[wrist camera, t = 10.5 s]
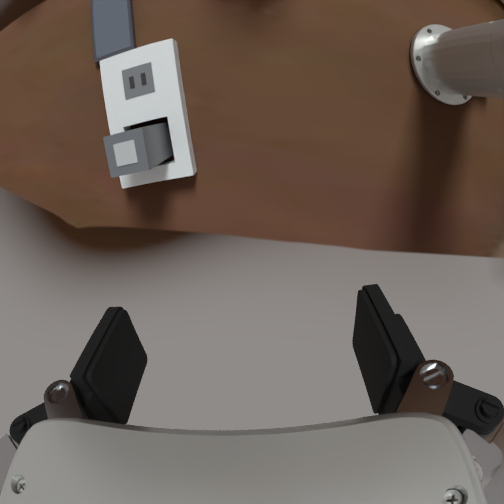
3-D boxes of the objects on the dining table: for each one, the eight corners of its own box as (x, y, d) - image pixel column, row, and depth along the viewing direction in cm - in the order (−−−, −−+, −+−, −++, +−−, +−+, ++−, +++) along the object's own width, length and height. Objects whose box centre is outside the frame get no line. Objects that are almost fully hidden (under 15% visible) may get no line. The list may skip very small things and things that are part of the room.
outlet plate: (176, 42, 30) (171, 38, 28) (196, 171, 38) (193, 175, 36) (107, 62, 31) (98, 61, 28) (128, 184, 39) (121, 189, 37)
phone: (131, -14, 25) (128, -17, 24) (136, 49, 30) (134, 48, 29) (93, 0, 26) (90, -1, 25) (97, 63, 31) (94, 62, 30)
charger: (168, 121, 35) (141, 127, 26) (173, 154, 37) (149, 170, 28) (136, 128, 35) (102, 137, 26) (142, 160, 37) (110, 178, 28)
